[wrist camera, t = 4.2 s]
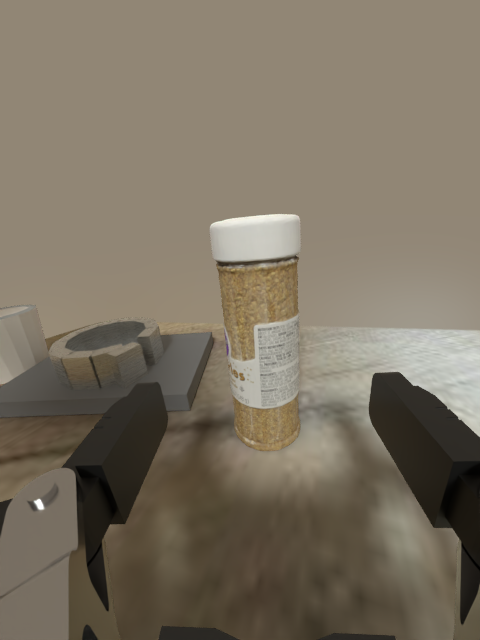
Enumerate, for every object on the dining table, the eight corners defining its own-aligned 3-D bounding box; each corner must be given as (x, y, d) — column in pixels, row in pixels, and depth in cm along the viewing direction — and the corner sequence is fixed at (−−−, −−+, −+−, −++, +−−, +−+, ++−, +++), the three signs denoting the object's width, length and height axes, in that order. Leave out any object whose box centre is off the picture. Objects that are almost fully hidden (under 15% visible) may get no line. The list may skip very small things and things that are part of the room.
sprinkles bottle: (227, 415, 18) (200, 223, 14) (281, 398, 20) (274, 217, 15) (248, 466, 14) (221, 217, 10) (316, 440, 15) (320, 209, 11)
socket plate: (-19, 418, 21) (-27, 403, 20) (77, 351, 32) (73, 341, 31) (189, 410, 19) (186, 394, 19) (213, 343, 30) (211, 332, 30)
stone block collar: (33, 392, 21) (19, 362, 20) (99, 343, 30) (91, 320, 29) (139, 387, 20) (130, 355, 19) (174, 338, 29) (169, 315, 28)
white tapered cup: (-22, 375, 28) (-53, 318, 26) (48, 350, 33) (28, 301, 31) (-15, 396, 24) (-51, 330, 22) (65, 364, 29) (43, 307, 26)
